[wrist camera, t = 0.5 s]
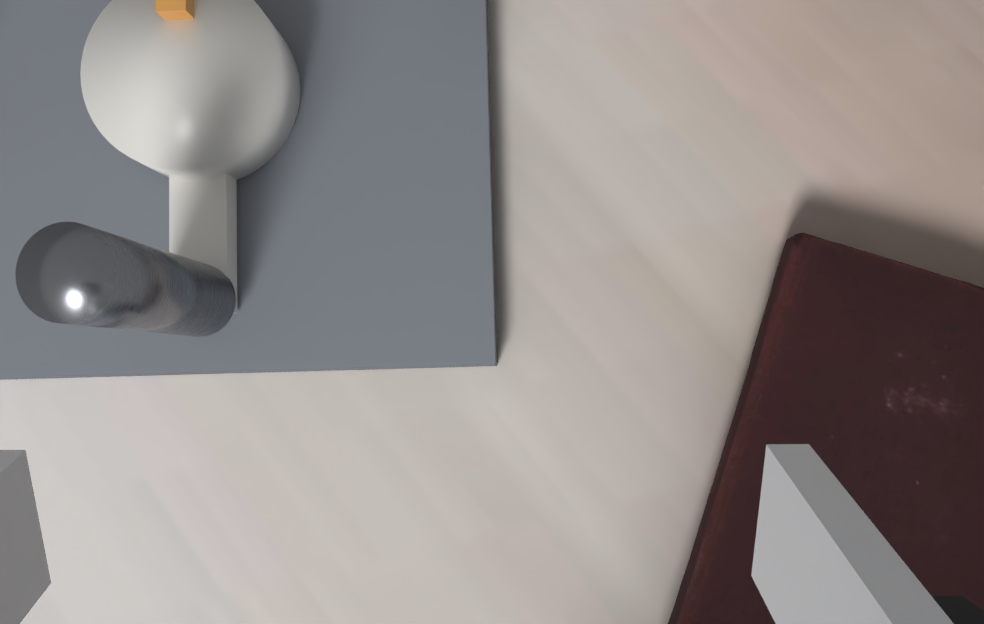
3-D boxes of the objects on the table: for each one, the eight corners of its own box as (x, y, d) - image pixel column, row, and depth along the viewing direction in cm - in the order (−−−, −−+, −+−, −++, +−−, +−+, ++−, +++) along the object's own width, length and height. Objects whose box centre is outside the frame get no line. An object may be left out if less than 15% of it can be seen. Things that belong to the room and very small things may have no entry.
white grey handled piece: (118, -104, 37) (-57, -302, 26) (298, -113, 37) (197, -319, 26) (116, 340, 36) (-69, 327, 25) (303, 335, 35) (199, 319, 24)
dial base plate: (496, 365, 37) (490, 365, 31) (-40, 380, 38) (-138, 382, 32) (482, -166, 38) (473, -255, 33) (-32, -136, 39) (-123, -218, 34)
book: (643, 668, 36) (654, 698, 33) (778, 239, 37) (802, 227, 34) (933, 769, 35) (974, 810, 32) (1063, 328, 36) (1115, 324, 33)
